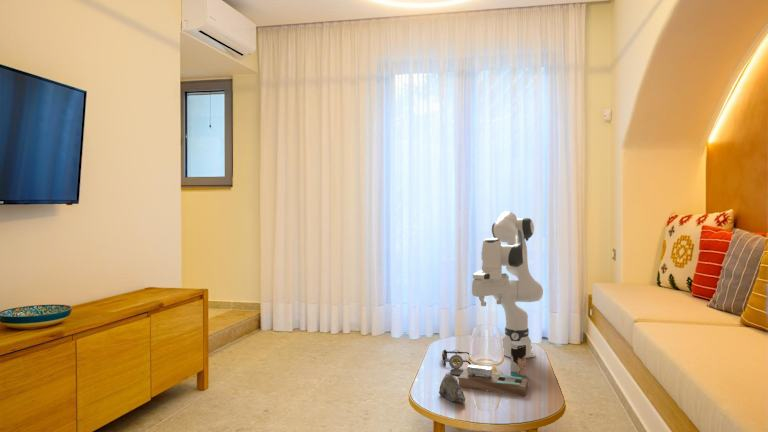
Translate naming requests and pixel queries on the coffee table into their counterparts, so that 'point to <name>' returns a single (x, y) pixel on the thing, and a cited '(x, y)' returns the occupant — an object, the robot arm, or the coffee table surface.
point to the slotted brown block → (495, 383)
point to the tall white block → (479, 371)
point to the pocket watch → (456, 367)
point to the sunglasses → (444, 352)
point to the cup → (518, 359)
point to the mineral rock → (451, 389)
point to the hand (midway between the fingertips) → (491, 305)
